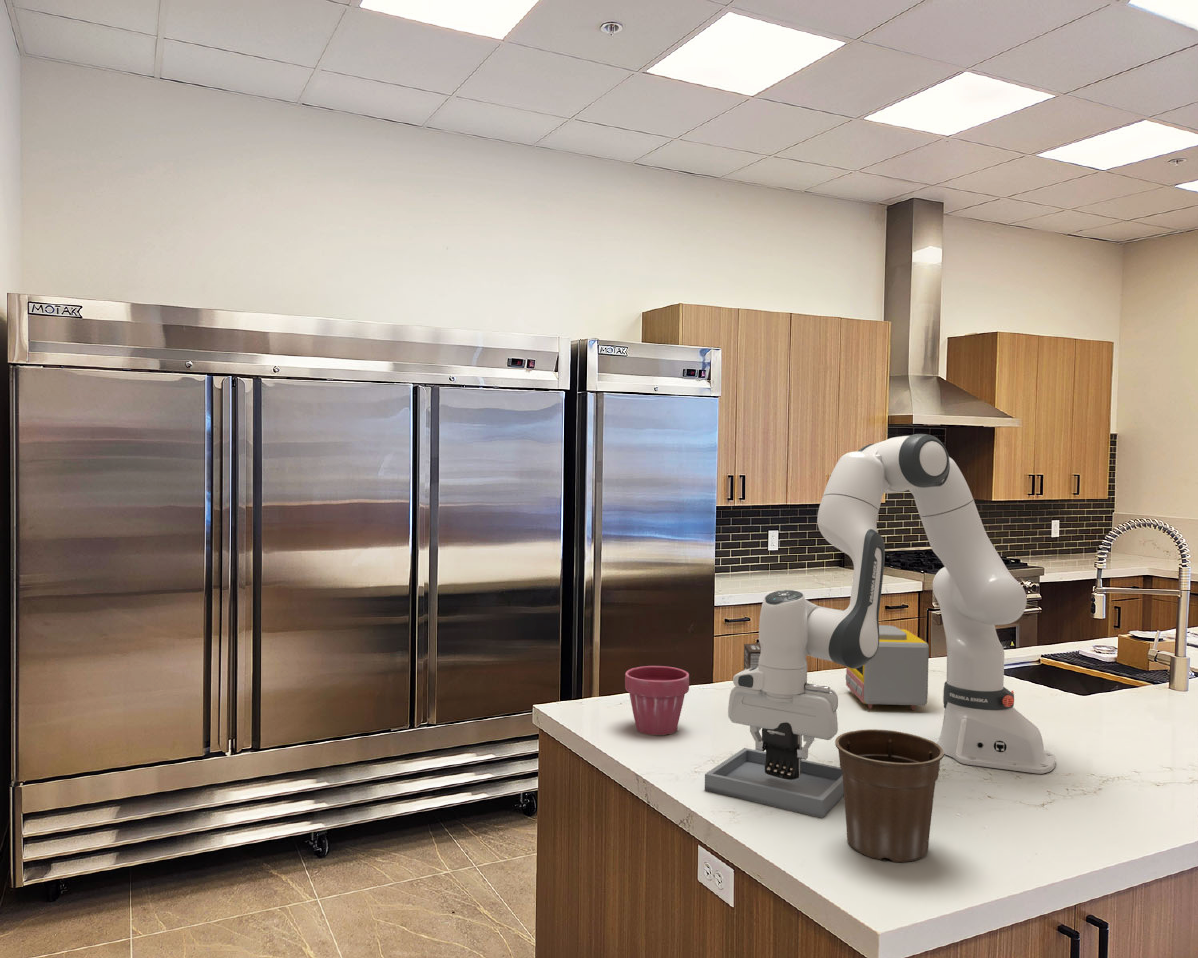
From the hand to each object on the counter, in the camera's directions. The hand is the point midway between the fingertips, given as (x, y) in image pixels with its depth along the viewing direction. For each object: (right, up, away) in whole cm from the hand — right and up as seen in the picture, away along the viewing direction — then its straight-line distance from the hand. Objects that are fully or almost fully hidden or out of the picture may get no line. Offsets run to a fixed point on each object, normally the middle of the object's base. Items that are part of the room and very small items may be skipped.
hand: (781, 754), depth 164 cm
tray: (0, -6, 0) cm, 6 cm away
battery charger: (0, -4, 0) cm, 4 cm away
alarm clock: (+39, -6, +61) cm, 72 cm away
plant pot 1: (-21, -5, +35) cm, 41 cm away
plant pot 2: (+12, -7, -24) cm, 28 cm away
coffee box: (+4, -6, +48) cm, 49 cm away
